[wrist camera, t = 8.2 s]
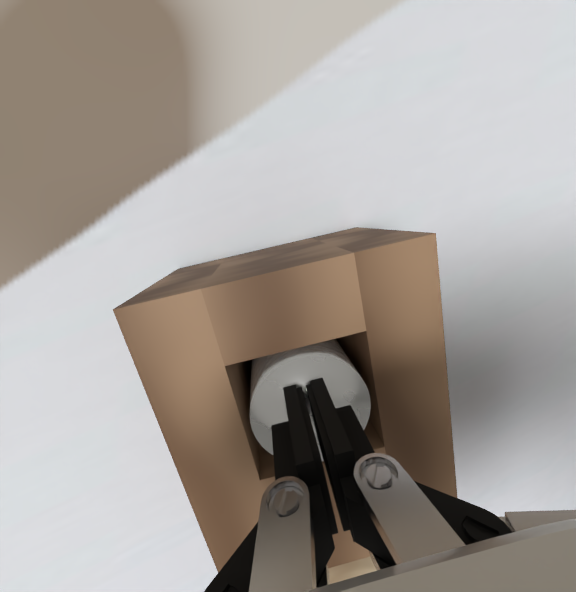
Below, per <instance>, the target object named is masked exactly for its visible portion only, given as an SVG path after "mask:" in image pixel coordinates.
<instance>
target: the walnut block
mask: <svg viewBox="0 0 576 592" xmlns="http://www.w3.org/2000/svg"><path fill="white" fill-rule="evenodd" d="M113 311H114V314H115V316H116V319H117V321H118V324H119V326H120V329H121V331H122V334H123V336H124V339H125V341H126V344H127V346H128V349H129V351H130V354H131V356H132V359H133V361H134V364H135V366H136V369H137V371H138V374H139V376H140V379H141V381H142V384H143V386H144V389H145V391H146V394H147V396H148V399H149V401H150V404H151V406H152V409H153V411H154V413H155V416H156V418H157V421H158V423H159V426H160V428H161V431H162V433H163V436H164V438H165V441H166V443H167V446H168V448H169V451H170V453H171V456H172V458H173V461H174V463H175V466H176V468H177V471H178V473H179V476H180V478H181V481H182V483H183V486H184V488H185V491H186V493H187V496H188V498H189V501H190V503H191V506H192V508H193V511H194V513H195V516H196V518H197V521H198V523H199V526H200V528H201V531H202V533H203V536H204V538H205V541H206V543H207V546H208V548H209V551H210V553H211V556H212V558H213V561H214V563H215V566H216V568H217V571H218V573H219V572H220V570H221V569H222V568H223V566H224V565H225V564H226V563H227V561H228V560H229V559H230V557H231V556H232V555H233V553H234V552H235V551H236V550H237V548H238V547H239V546H240V544H241V543H242V542H243V540H244V539H245V538H246V537H247V535H248V534H249V533H250V531H251V530H252V529H253V527H254V526H255V525H256V524H257V522H258V520H259V513H260V505H261V499H262V496H263V493H264V492H265V490H266V488H267V487H268V486H269V485H270V484H271V483H272V482H273V481H275V471H274V457H273V455H272V454H270V453H269V452H268V451H266V450H265V449H264V448H263V447H262V446H261V445H260V443H259V442H258V441H257V439H256V437H255V435H254V433H253V431H252V428H251V423H250V392H251V363H252V359H255V358H259V357H263V356H267V355H271V354H275V353H279V352H283V351H288V350H292V349H296V348H300V347H304V346H308V345H312V344H316V343H320V342H324V341H328V340H332V339H336V340H337V342H338V343H339V345H340V346H341V348H342V349H343V351H344V352H345V354H346V355H347V357H348V358H349V360H350V361H351V363H352V364H353V366H354V367H355V369H356V370H357V372H358V373H359V375H360V376H361V378H362V379H363V381H364V382H365V384H366V386H367V389H368V391H369V395H370V402H371V409H370V416H369V420H368V422H367V425H366V427H365V429H364V432H365V434H366V436H367V438H368V440H369V442H370V444H371V446H372V448H373V450H374V451H375V453H382V454H386V455H389V456H391V457H393V458H394V459H395V460H396V461H397V462H399V463H400V465H401V466H402V467H403V468H404V470H405V471H406V472H407V473H408V475H409V476H410V477H411V478H412V479H413V481H416V482H418V483H421V484H423V485H425V486H428V487H430V488H433V489H435V490H438V491H440V492H443V493H445V494H448V495H450V496H453V497H455V498H457V489H456V476H455V464H454V452H453V440H452V427H451V415H450V403H449V390H448V378H447V366H446V354H445V341H444V329H443V317H442V304H441V292H440V280H439V268H438V255H437V243H436V233H424V232H411V231H397V230H384V229H370V228H352V229H348V230H343V231H339V232H335V233H331V234H326V235H322V236H318V237H313V238H309V239H305V240H300V241H296V242H292V243H288V244H283V245H279V246H275V247H270V248H266V249H262V250H257V251H253V252H249V253H245V254H240V255H236V256H232V257H227V258H223V259H219V260H214V261H210V262H206V263H202V264H197V265H193V266H189V267H184V268H180V269H177V270H176V271H174V272H172V273H171V274H169V275H168V276H166V277H164V278H163V279H161V280H160V281H158V282H156V283H155V284H153V285H152V286H150V287H148V288H147V289H145V290H144V291H142V292H140V293H139V294H137V295H136V296H134V297H132V298H131V299H129V300H128V301H126V302H124V303H123V304H121V305H120V306H118V307H116V308H115V309H113ZM322 464H323V468H324V472H325V477H326V481H327V485H328V490H329V494H330V498H331V502H332V507H333V511H334V515H335V520H336V524H337V528H338V533H337V534H334V535H332V537H333V541H334V545H335V550H334V552H333V554H332V555H331V557H330V559H329V561H328V563H327V565H328V568H332V567H335V566H339V565H342V564H346V563H349V562H353V561H356V560H360V559H363V558H367V557H370V554H369V550H367V549H366V548H364V547H362V546H361V545H359V544H357V543H356V542H353V538H352V535H351V532H350V530H348V531H343V527H342V524H341V520H340V517H339V513H338V510H337V506H336V503H335V499H334V495H333V492H332V488H331V485H330V481H329V478H328V474H327V471H326V467H325V464H324V461H322Z"/></svg>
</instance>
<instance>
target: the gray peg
mask: <svg viewBox="0 0 576 592" xmlns="http://www.w3.org/2000/svg"><path fill="white" fill-rule="evenodd" d="M318 378H323V380H324V382H325V385H326V387H327V389H328V392H329V394H330V397H331V399H332V401H333V404H334V406H335V408H340V407H343V406H347V405H351V407H352V409H353V411H354V412H355V414H356V416H357V418H358V420H359V422H360V424H361V426H362V428H363V430H364V429H365V427H366V425H367V422H368V420H369V416H370V409H371V402H370V395H369V391H368V389H367V386H366V384H365V382H364V381H363V379H362V378H361V376H360V375H359V373H358V372H357V370H356V369H355V367H354V366H353V364H352V363H351V361H350V360H349V358H348V357H347V355H346V354H345V352H344V351H343V349H342V348H341V346H340V345H339V343H338V342H337V340H336V339H332V340H328V341H324V342H320V343H316V344H312V345H308V346H304V347H300V348H296V349H292V350H288V351H283V352H279V353H275V354H271V355H267V356H263V357H259V358H255V359H252V363H251V392H250V423H251V428H252V431H253V433H254V435H255V437H256V439H257V441H258V442H259V443H260V445H261V446H262V447H263V448H264V449H265V450H266V451H268V452H269V453H270V454H272V455H273V444H272V431H271V426H272V425H274V424H278V423H282V422H286V421H288V416H287V409H286V403H285V397H284V391H283V387H287V386H291V385H295V384H296V388H298V387H302V390H303V394H304V397H305V401H306V405H307V408H308V412H309V416H310V419H311V423H312V426H313V430H314V434H315V437H316V441H317V445H318V448H319V452H320V456H321V460H322V461H324V460H323V456H322V453H321V449H320V446H319V442H318V438H317V433H316V429H315V425H314V420H313V416H312V412H311V407H310V403H309V399H308V394H307V390H306V385H310V381H311V380H314V379H318Z"/></svg>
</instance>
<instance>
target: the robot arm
mask: <svg viewBox="0 0 576 592" xmlns="http://www.w3.org/2000/svg"><path fill="white" fill-rule="evenodd" d="M306 390H307V394H308V399H309V403H310V407H311V412H312V416H313V420H314V425H315V429H316V433H317V438H318V442H319V446H320V449H321V453H322V456H323V460H324V464H325V467H326V471H327V474H328V478H329V481H330V485H331V488H332V492H333V495H334V499H335V503H336V506H337V510H338V513H339V517H340V520H341V524H342V527H343V531H348V530H350V532H351V535H352V538H353V542H356V543H357V544H359V545H361V546H362V547H364V548H366V549H367V550H369V554H370V557H371V560H372V562H373V564H374V566H375V568H376V570H377V571H374V572H370V573H367V574H364V575H360V576H357V577H353V578H350V579H346V580H343V581H339V582H336V583H332V584H330V578H329V569H328V565H327V563H328V561H329V559H330V557H331V555H332V554H333V552H334V550H335V545H334V541H333V537H332V535H334V534H337V533H338V528H337V524H336V520H335V515H334V511H333V507H332V502H331V498H330V494H329V490H328V485H327V481H326V477H325V472H324V468H323V464H322V460H321V456H320V452H319V448H318V445H317V441H316V437H315V434H314V430H313V426H312V423H311V419H310V416H309V412H308V408H307V405H306V401H305V397H304V394H303V390H302V387H298V388H296V384H295V385H291V386H287V387H283V391H284V397H285V403H286V409H287V416H288V421H286V422H282V423H278V424H274V425H272V426H271V431H272V444H273V457H274V471H275V481H273V482H272V483H271V484H270V485H269V486H268V487H267V488H266V490H265V492H264V493H263V496H262V499H261V505H260V513H259V520H258V522H257V524H256V525H255V526H254V527H253V529H252V530H251V531H250V533H249V534H248V535H247V537H246V538H245V539H244V540H243V542H242V543H241V544H240V546H239V547H238V548H237V550H236V551H235V552H234V553H233V555H232V556H231V557H230V559H229V560H228V561H227V563H226V564H225V565H224V566H223V568H222V569H221V570H220V572H219V573H218V574H217V575H216V577H215V578H214V579H213V581H212V582H211V583H210V585H209V586H208V587H207V588H206V590H205V592H576V510H561V511H524V512H505V517H497V516H496V515H495V514H493V513H491V512H489V511H487V510H485V509H483V508H480V507H478V506H475V505H473V504H470V503H468V502H465V501H463V500H460V499H458V498H455V497H453V496H450V495H448V494H445V493H443V492H440V491H438V490H435V489H433V488H430V487H428V486H425V485H423V484H421V483H418V482H416V481H413V479H412V478H411V477H410V476H409V475H408V473H407V472H406V471H405V470H404V468H403V467H402V466H401V465H400V463H399V462H397V461H396V460H395V459H394V458H393V457H391V456H389V455H386V454H382V453H375V451H374V450H373V448H372V446H371V444H370V442H369V440H368V438H367V436H366V434H365V432H364V430H363V428H362V426H361V424H360V422H359V420H358V418H357V416H356V414H355V412H354V411H353V409H352V407H351V405H347V406H343V407H340V408H335V406H334V404H333V401H332V399H331V397H330V394H329V392H328V389H327V387H326V385H325V382H324V380H323V378H318V379H314V380H311V381H310V385H306Z"/></svg>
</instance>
